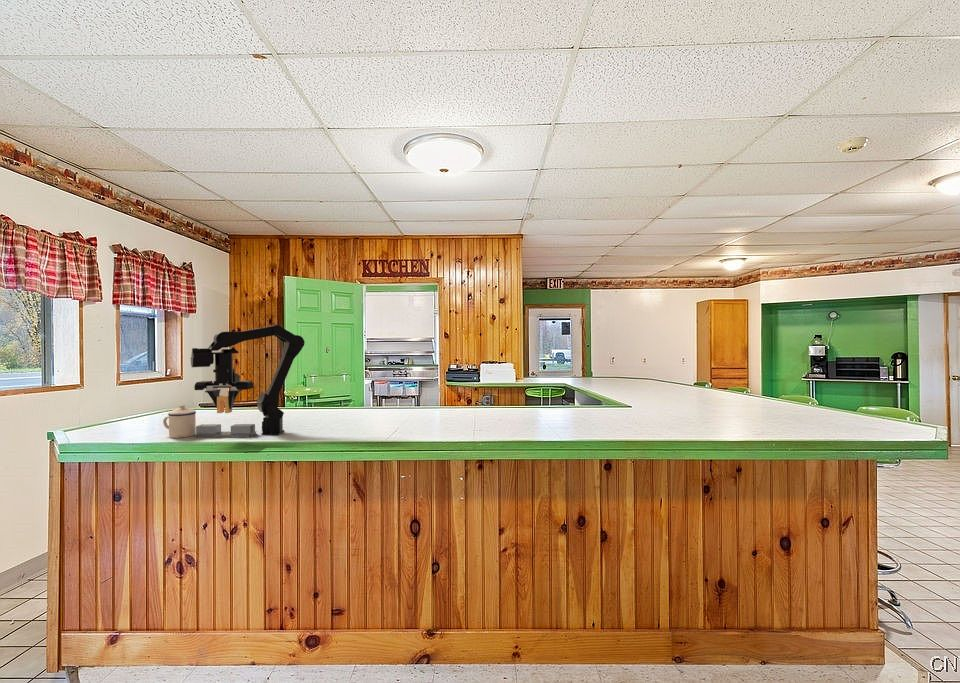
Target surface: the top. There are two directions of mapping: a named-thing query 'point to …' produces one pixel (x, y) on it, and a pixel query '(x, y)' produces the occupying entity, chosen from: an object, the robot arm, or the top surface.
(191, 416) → the teacup with lid
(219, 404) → the clip
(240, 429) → the rail
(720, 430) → the top surface
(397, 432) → the top surface
